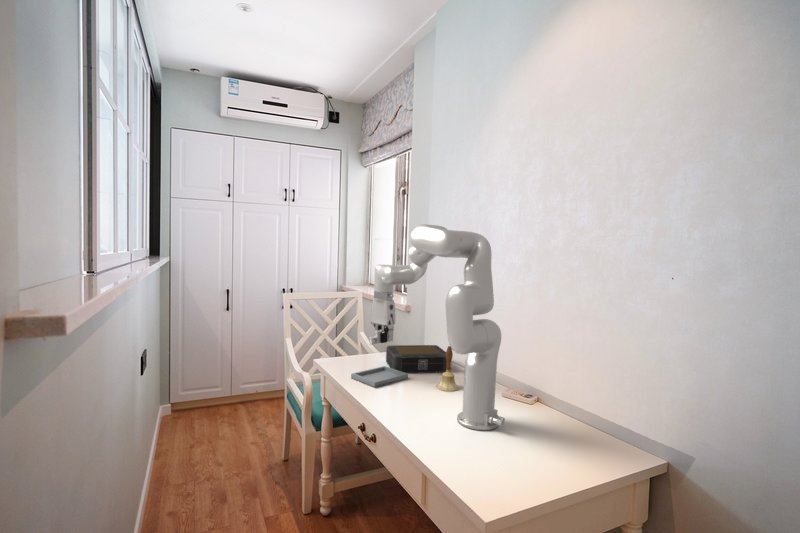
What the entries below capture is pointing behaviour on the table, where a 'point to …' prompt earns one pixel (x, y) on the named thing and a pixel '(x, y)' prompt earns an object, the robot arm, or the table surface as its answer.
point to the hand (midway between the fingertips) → (381, 341)
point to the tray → (379, 376)
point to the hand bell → (448, 375)
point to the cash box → (416, 358)
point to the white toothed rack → (378, 333)
